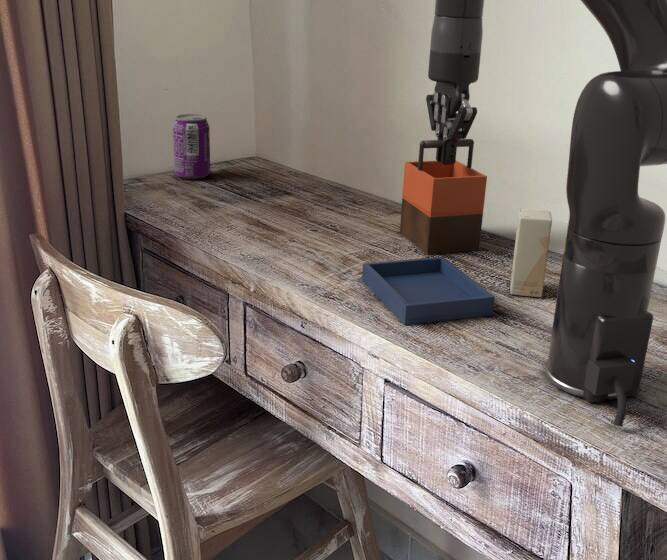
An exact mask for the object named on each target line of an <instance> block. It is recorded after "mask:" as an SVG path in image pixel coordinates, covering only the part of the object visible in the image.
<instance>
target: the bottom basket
mask: <svg viewBox="0 0 667 560" xmlns="http://www.w3.org/2000/svg"><path fill="white" fill-rule="evenodd" d="M483 219H484V213H483V214H473V215H458V216H443V217H429V216H428V215H426V214H425V213H424V212H422V211H421V210H419V209H418V208H416V207H415V206H414V205H412V204H411V203H409V202H408V201H406V200H405V199H403V198H401V212H400V223H399V225H400V226H399V233H400V234H401V235H402V236H404V238H407V240H409V241H410V242H411V243H412V244H413V245H415V246H416V247H417V248H418V249H420V250H421V251H422V252H423V253H425V254H426V255H436V254H437V255H438V254H449V253H463V252H474V251H480V247H481V246H480V245H481V237H482V226H483Z"/></svg>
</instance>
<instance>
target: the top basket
mask: <svg viewBox="0 0 667 560" xmlns="http://www.w3.org/2000/svg"><path fill="white" fill-rule="evenodd" d="M442 141H443V140H437V139H429V140H427V139H426V140H421V141H420V142H419V149H418V161H405V162H404V167H403V169H404V170H403V182H402V195H401V197H402V198H403V199H405V200H406V201H408V202H409V203H411V204H412V205H414V206H415V207H416V208H418V209H419V210H421V211H422V212H424V213H425V214H426V215H428V216H429V217H443V216H458V215H473V214H483V215H484V209H485V199H486V189H487V181H488V175H486V174H484V173H482V172H479V171H478V170H476V169H474V168H472V166H473V165H472V164H473V156H474V146H475V141H474V139H473V138H465V139H460V140H459V141H457V148H468V153H467V163H466V164H464V163H462V162H460V161H458V160H456V162H455V164H453V165H444V164H442V163H441V162H438V161H437V160H424V156H425V155H424V152H425V149H437V148H442ZM402 198H401V199H402Z"/></svg>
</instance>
